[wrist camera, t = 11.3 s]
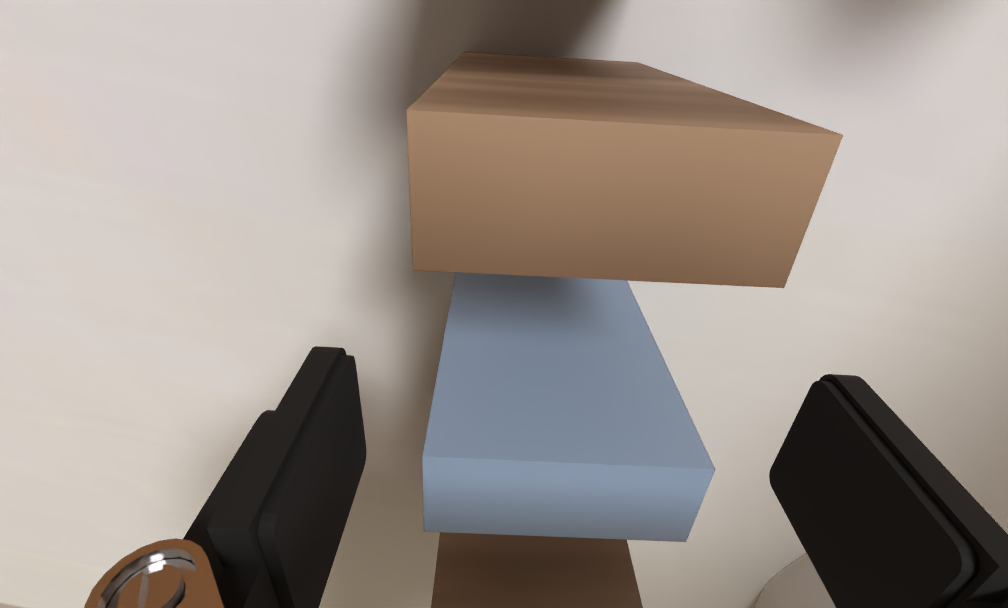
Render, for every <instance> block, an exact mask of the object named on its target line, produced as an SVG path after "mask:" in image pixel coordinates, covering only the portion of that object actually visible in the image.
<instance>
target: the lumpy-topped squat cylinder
mask: <svg viewBox="0 0 1008 608" xmlns="http://www.w3.org/2000/svg"><path fill="white" fill-rule="evenodd" d="M754 608H836V607H835V605H834V603H833V601H832V599H831V597H830V596H829V594H828V592H827V590H826V588H825V586H824V584H823V582H822V581H821V579H820V577H819V575H818V573H817V571H816V569H815V567H814V566H813V564H812V562H811V560H810V558H809V556H808V554H807V553H805V554H804V555H802V556H801V557H799V558H798V559H796V560H795V561H794V562H792V563H791V564H789V565H788V566H787V567H785V568H784V569H783V570H781V571H780V572H779V573H778V574H776V575H775V576H774V577H773V578H772V579H770V580H769V582H768V583H767V584H766V585H765V587H764V589H763V590H762V592H761V594H760V596H759V598H758V600H757V602H756V605H755V607H754Z"/></svg>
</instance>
